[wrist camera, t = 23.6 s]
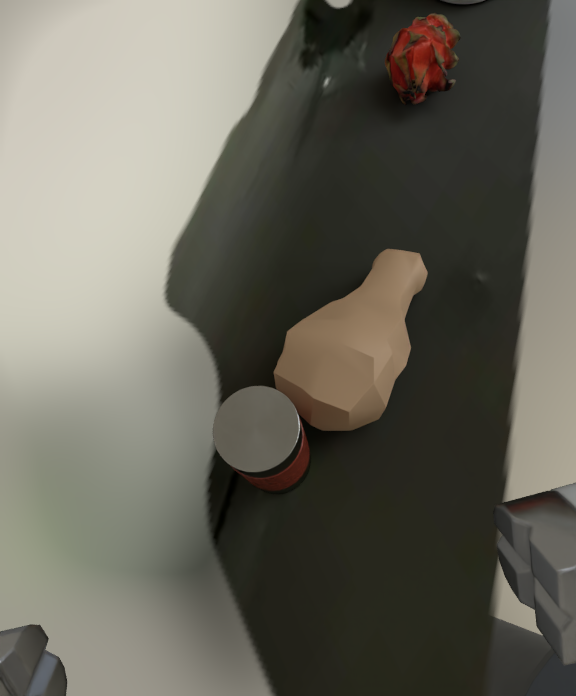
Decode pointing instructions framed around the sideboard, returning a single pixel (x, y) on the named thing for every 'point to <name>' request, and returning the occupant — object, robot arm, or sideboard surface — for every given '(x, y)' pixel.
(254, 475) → the tin
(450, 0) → the supplement tub
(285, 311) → the sideboard surface
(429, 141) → the sideboard surface
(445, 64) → the dragon fruit
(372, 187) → the sideboard surface
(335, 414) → the squash
